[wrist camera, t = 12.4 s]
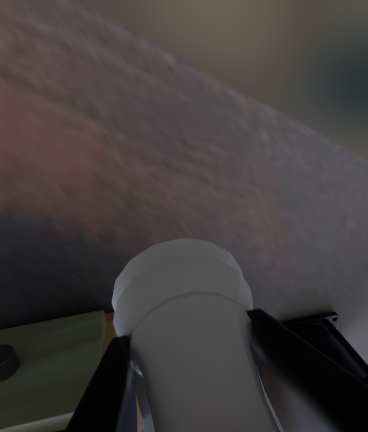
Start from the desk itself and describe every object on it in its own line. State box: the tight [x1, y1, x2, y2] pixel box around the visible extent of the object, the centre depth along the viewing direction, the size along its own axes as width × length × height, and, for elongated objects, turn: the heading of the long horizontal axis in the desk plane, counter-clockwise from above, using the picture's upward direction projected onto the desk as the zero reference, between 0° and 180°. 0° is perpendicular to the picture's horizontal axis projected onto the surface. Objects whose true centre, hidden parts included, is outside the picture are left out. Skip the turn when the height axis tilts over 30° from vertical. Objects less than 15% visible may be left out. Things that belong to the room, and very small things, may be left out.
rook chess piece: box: [112, 238, 280, 432], centre depth 7 cm, size 4×4×8 cm
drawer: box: [0, 310, 107, 432], centre depth 20 cm, size 14×11×7 cm
